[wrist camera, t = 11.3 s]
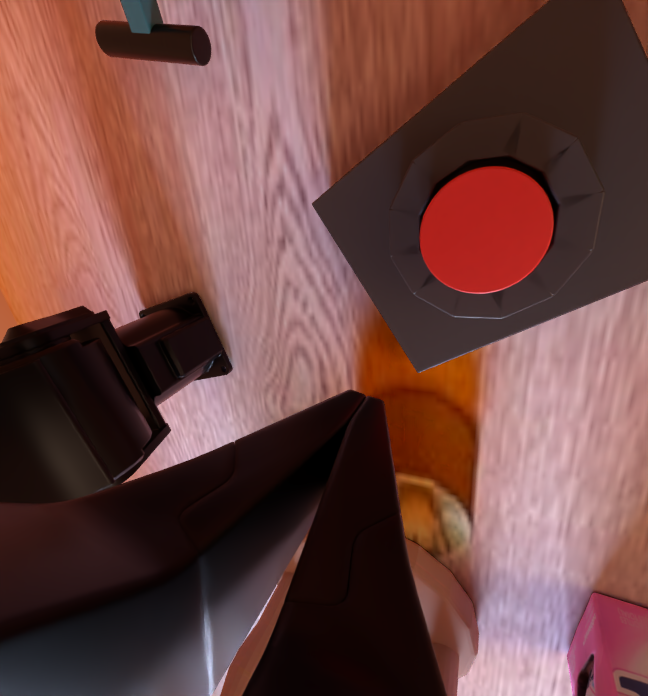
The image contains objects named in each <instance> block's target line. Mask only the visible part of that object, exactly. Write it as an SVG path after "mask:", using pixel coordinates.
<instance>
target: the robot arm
mask: <svg viewBox="0 0 648 696" xmlns="http://www.w3.org/2000/svg"><path fill="white" fill-rule="evenodd" d="M192 298H193V299H194V301H193V299H192ZM139 316H140V319H138V320H136V321H133V322H131V323H129V324H126V325H124V326H121V327H119V328H117V329H114V327H113V325H112V323H111V321H110V316H109V314H108V312H107V311H106V310H105V311H103V312H100V313H97V314H94V312H93V311H90V310H89V309H87V308H86V307H84V306H80V307H77V308H74V309H71V310H68V311H65V312H62V313H59V314H56V315H52V316H49V317H45V318H42V319H38V320H35V321H31V322H28V323H24V324H21V325H18V326H15V327H12V328H9V329H8V330H7V332H6V335H5V337H4V339H3V341H2V343H0V696H210V695H212V694H213V692H214V690H215V689H216V687H217V685H218V684H219V682H220V680H221V678H222V677H223V675H224V673H225V672H226V670H227V668H228V667H229V665H230V663H231V661H232V660H233V658H234V656H235V655H236V653H237V651H238V650H239V648H240V646H241V644H242V643H243V641H244V639H245V638H246V636H247V634H248V633H249V631H250V629H251V627H252V626H253V624H254V622H255V621H256V619H257V617H258V616H259V614H260V612H261V610H262V609H263V607H264V605H265V604H266V602H267V600H268V599H269V597H270V595H271V593H272V592H273V590H274V588H275V587H276V585H277V583H278V581H279V580H280V578H281V576H282V575H283V573H284V571H285V570H286V568H287V566H288V564H289V563H290V561H291V559H292V558H293V556H294V554H295V553H296V551H297V549H298V547H299V546H300V544H301V542H302V541H303V539H304V537H305V536H306V534H307V532H308V530H309V529H310V530H309V533H308V536H307V539H306V542H305V544H304V547H303V550H302V553H301V555H300V558H299V561H298V564H297V567H296V569H295V572H294V575H293V578H292V580H291V583H290V586H289V589H288V592H287V594H286V597H285V600H284V604H283V606H282V608H281V611H280V614H279V616H278V619H277V622H276V624H275V627H274V629H273V632H272V634H271V637H270V639H269V641H268V644H267V646H266V648H265V650H264V653H263V655H262V657H261V659H260V661H259V663H258V665H257V666H256V668H255V670H254V672H253V674H252V676H251V678H250V680H249V682H248V684H247V686H246V688H245V690H244V692H243V694H242V696H447V692H446V689H445V686H444V682H443V679H442V675H441V672H440V668H439V665H438V661H437V658H436V655H435V651H434V648H433V644H432V641H431V637H430V634H429V630H428V627H427V623H426V620H425V616H424V613H423V610H422V606H421V603H420V599H419V596H418V592H417V588H416V584H415V580H414V576H413V572H412V569H411V565H410V561H409V555H408V550H407V545H406V540H405V534H404V528H403V521H402V516H401V515H400V514H401V510H400V503H399V497H398V490H397V483H396V477H395V470H394V464H393V457H392V450H391V444H390V437H389V431H388V424H387V418H386V411H385V404H384V402H383V401H382V400H380V399H377V398H374V397H371V396H367V397H366V396H365V395H364V394H362V393H359V392H356V391H353V390H347V391H345V392H343V393H341V394H338V395H336V396H334V397H332V398H329V399H327V400H325V401H323V402H321V403H318V404H316V405H314V406H312V407H309V408H307V409H305V410H303V411H300V412H298V413H296V414H294V415H292V416H289V417H287V418H285V419H283V420H280V421H278V422H276V423H274V424H271V425H269V426H267V427H265V428H262V429H260V430H258V431H256V432H254V433H251V434H249V435H247V436H245V437H242V438H240V439H238V440H236V441H235V443H234V442H231V443H229V444H226V445H224V446H222V447H220V448H217V449H215V450H213V451H210V452H208V453H206V454H203V455H201V456H198V457H196V458H194V459H191V460H188V461H185V462H183V463H180V464H177V465H175V466H172V467H169V468H166V469H164V470H161V471H158V472H155V473H152V474H149V475H146V476H143V477H140V478H137V479H134V480H132V481H129V482H126V483H123V482H124V481H126V480H127V479H128V478H129V477H130V476H132V475H133V474H134V473H135V472H136V471H137V470H138V468H139V467H140V466H141V465H142V464H143V463H144V461H145V460H146V459H147V458H148V457H149V456H150V455H151V453H152V452H153V451H154V450H155V449H156V448H157V446H158V445H159V444H160V443H161V442H162V441H163V440H164V438H165V437H166V436H167V435H168V434H169V433H170V431H171V429H170V427H169V425H168V423H165V421H164V419H163V417H162V415H161V413H160V412H159V410H158V408H157V406H158V405H159V404H161V403H162V402H164V401H165V400H166V399H168V398H169V397H171V396H172V395H174V394H175V393H176V392H178V391H179V390H181V389H182V388H184V387H185V386H186V385H188V384H189V383H191V382H192V381H195V380H200V379H206V378H211V377H217V376H222V375H227V374H229V373H230V372H231V371H232V365H231V363H230V361H229V359H228V356H227V354H226V352H225V350H224V348H223V346H222V344H221V341H220V339H219V337H218V335H217V333H216V331H215V329H214V326H213V324H212V322H211V320H210V318H209V316H208V314H207V311H206V309H205V307H204V305H203V303H202V301H201V299H200V297H199V295H198V294H197V293H195V292H192V293H189V294H186V295H183V296H180V297H178V298H175V299H172V300H169V301H167V302H164V303H161V304H158V305H156V306H153V307H150V308H147V309H145V310H142V311H140V313H139ZM225 367H226V368H225ZM121 483H123V484H121ZM310 527H311V528H310Z"/></svg>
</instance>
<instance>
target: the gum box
mask: <svg viewBox="0 0 648 696" xmlns="http://www.w3.org/2000/svg"><path fill="white" fill-rule="evenodd" d="M567 659H568V666H569V673H570V679H571V686H572V693H573V696H648V609H646V608H643V607H639V606H636V605H633V604H630V603H627V602H623V601H620V600H617V599H614V598H611V597H607V596H604V595H601V594H598V593H593V594H592V595H591V598H590V600H589V603H588V605H587V608H586V610H585V613H584V615H583V617H582V619H581V620H580V623H579V625H578V628H577V630H576V632H575V635H574V639H573V641H572V644H571V646H570V649H569V651H568V654H567Z"/></svg>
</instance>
